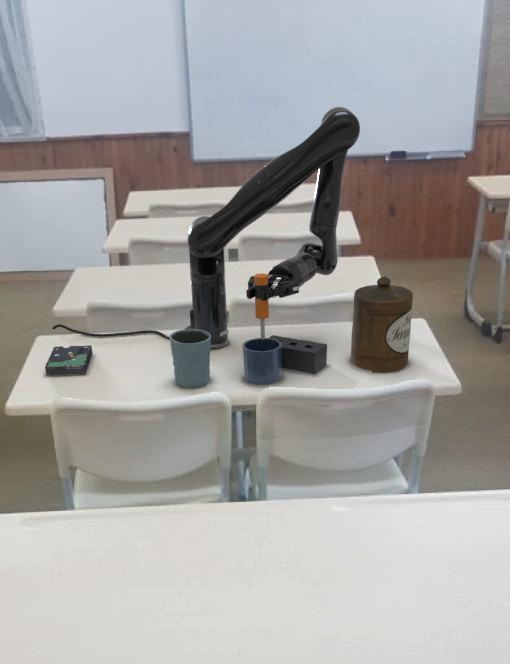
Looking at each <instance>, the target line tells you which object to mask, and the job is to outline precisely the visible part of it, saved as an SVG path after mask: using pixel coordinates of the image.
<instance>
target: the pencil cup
mask: <svg viewBox="0 0 510 664" xmlns="http://www.w3.org/2000/svg"><path fill="white" fill-rule="evenodd" d="M241 347H242V368H243V369H242V371H243V373H242V374H243V380H244V381H245V382H246V383H249V384H251V385H254V386H255V385H256V386H269V385H273V384H276V383H279V382H280V381H281V380H282V379H283V368H282V344H281V342H280V341H278V340H275V339H271V338H269V337H265V339H261V337H257V338H252V339H249V340H246V341H244V342H243V343H242V346H241Z"/></svg>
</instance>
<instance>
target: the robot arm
mask: <svg viewBox="0 0 510 664" xmlns="http://www.w3.org/2000/svg"><path fill="white" fill-rule="evenodd" d="M360 135H361V124H360V122H359V119H358V117H357V116H356V115H355V113H354V112H352V111H351V110H350V109H348V108H346V107H343V106H335V107H333V108H330V109H329V110H328V111H326V112H325V113H324V115H323V117H322V119H321V121H320V125H319V126H318V127H317V129H315V130H314V131H313V132H312V133H311V134H310V135H309V136H308V137H307V138H305V140H303V141H302V142H300V144H298V145H296V146H295V147H293V148H291V149H289V150H287V151H286V152H283V153H281V154H280V155H279V156H276V157H275V158H273V159H271V160H270V161H268V163H266V164H265V165H264V166H262V167H261V168H260V169H259V170H257V171H256V172H255V173H254V174H253V175H252V176H250V177H249V178H248V179H247V181H246V182H244V184H242V185H241V187H240V188H239V189H238V191H237V192H236V193H234V195H233V197H231V199H230V200H229V201H228V202H227V203H226V204H225V205H224V206H223V207H221V208H220V209H219V210H218V211H216V212H215V213H213V214H212V215H211V216H207V215H202V216H199V217H197V218H196V219H194V220H193V221H192V222H191V224H190V225H189V227H188V230H187V231H188V232H187V246H188V255H189V277H190V289H191V290H190V291H191V305H192V308H191V309H190V310H189V321H190V322H189V323H190V325H188V326H187V327H185V328H184V329H200V330H204V331H207V332H208V333H210V335H211V346H210V350H212V349H213V350H214V349H215V350H216V349H220V348H223V347H225V346H227V345H228V343H229V335H228V334H229V329H228V309H227V308H228V307H227V290H226V265H225V247H226V246H228V244H230V242H231V241H232V240H234V239H235V238H236V237H237V236H238V234H240V233H241V232H242V231H243V230H244V229H246V228H247V227H249V226H250V225H251V224H253V223H255V222H256V221H258V220H259V219H260V218H262V217H263V216H264V215H266V214H267V213H269V212H270V211H271V210H273V209H274V208H275V207H276V206H278V205H279V204H280V203H282V202H283V201H285V199H286V198H288V197H289V196H290V195H291V194H293V192H295V191H296V190H297V189H298V188H299V187H300V186H302V185H303V184H304V183H305V182H306V181H307V180H308V179H309V178H310V177H311V176H312V175H314V173H316V172H317V171H318V173H317V180H316V185H315V191H314V196H313V202H312V208H311V213H310V219H309V224H308V225H309V226H308V228H309V229H308V230H309V233H310V234H312V235H313V236H315V237H317V238H318V239H320V241H321V244H322V245H321V244H318V243H313V242H305V243H303V244H302V245H301V246H300V247H299V249H298V251H297V252H296V254H295V255H293V256H292V257H290V258H287V259H285V260H283V261H281V262H279V263H277V264H276V265H274V266H272V267H271V268H270V269H269V272H268V273H267V275H268V288H267V289H266V290H264V291H262V293H261V298H262V301H266V300H268V301H269V300H270V299H271V298H276V297H278V298H279V299H280V298H281V299H282V298H286V297H289V296H294V295H296V294H299V293H300V288H301V287H302V286H303V285H304V284H305V283H307V282H309V281H310V280H312V279H313V278H314V277H315V276H316V274H319V275H322V276H329V275H331V274H333V272H334V271H335V270H336V268H337V265H338V256H339V255H338V245H337V227H338V221H339V216H340V210H341V209H340V208H341V200H342V190H343V189H342V187H343V176H344V175H343V174H344V168H345V163H346V159H347V155H348V152H349V150H350V149H351V148H352V147H353V146H354V145H355V144H356V143H357V141H358V140H359V137H360ZM245 291H246V298H247V299H248V300H252V299H254V298H255V288H254V275H251V276H249V279H248V282H247V289H246V290H245ZM57 328H63V329H65V330H67V331H69V332H71V333H75V334H79V335H83V336H86V337H94V338H106V337H119V336H120V337H121V336H132V335H140V334H156V335H159V336H161V337H162V338H164V339H166V340H168V341H170V336H168V335H166V334H164V333H163V332H161V331H158V330H152V329H151V330H148V329H147V330H146V329H145V330H136V331H126V332H125V331H124V332H113V333H93V332H92V333H90V332H85V331H81V330H77V329H74V328H71V327H68V326H66V325H64V324H60V323H57V324H55V325H53V326H52V327H51V329H52V330H56V329H57Z"/></svg>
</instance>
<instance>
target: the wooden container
mask: <svg viewBox="0 0 510 664" xmlns="http://www.w3.org/2000/svg"><path fill="white" fill-rule="evenodd" d="M391 282H392V281H391V278H389V277H388V276H381V277H380V278H378V279H377V281H376V284H370V285H366V286H365V285H364V286H362V287H359V288H357V289H355V291H354V294H353V309H352V310H353V312H352V324H351V325H352V326H351V341H350V343H351V345H350V363H351V365H353V366H355V367H356V368H359V369H361V370H365V371H371V372H372V373H389V372H396V371H399V370H402V369H404V368H405V367H406V366H407V365H408V363H409V355H410V354H409V352H410V340H411V327H412V312H413V310H412V309H413V303H414V302H413V299H414V293H413V291H411V289H409V288H407V287H404V286H399V285H394V284H392V283H391Z"/></svg>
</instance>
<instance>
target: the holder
mask: <svg viewBox="0 0 510 664" xmlns="http://www.w3.org/2000/svg"><path fill="white" fill-rule="evenodd" d="M268 338H271V339H275V340H278V341H280V342H281V344H282V369H284V370H291V371H296V372H299V373H300V372H301V373H307V374H312V375H316V374H317V373H319V372H320V371H321V370H322V369H323V368H324V367H326V366H327V364H328V363H327V362H328V361H327V360H328V344H327V343H323V342H315V341H311V340H304V339H299V338H292V337H287V336H281V335H274V334H272V335H270V336H269V337H268Z"/></svg>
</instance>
